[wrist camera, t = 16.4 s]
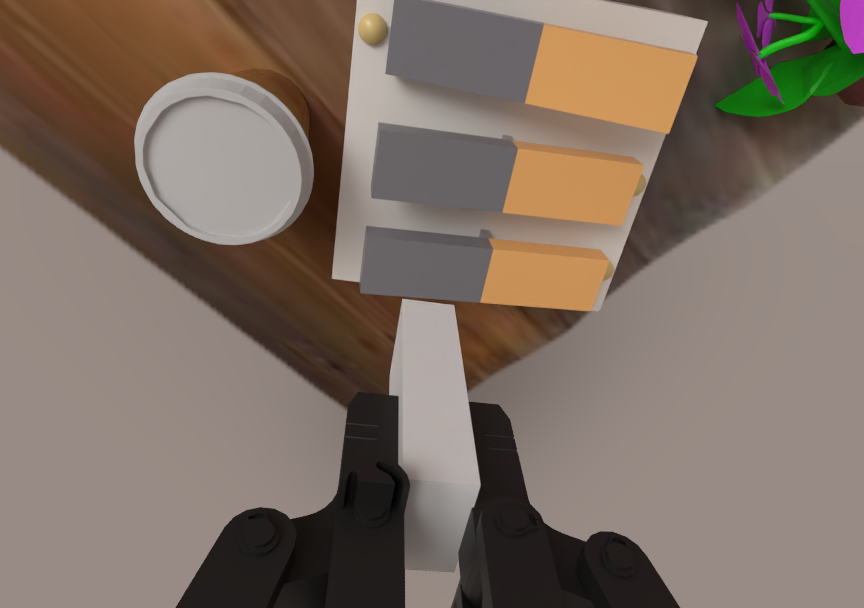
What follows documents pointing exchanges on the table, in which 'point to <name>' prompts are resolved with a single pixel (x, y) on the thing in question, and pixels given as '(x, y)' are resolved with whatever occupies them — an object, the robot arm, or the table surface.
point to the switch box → (489, 130)
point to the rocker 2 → (480, 269)
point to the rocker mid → (501, 175)
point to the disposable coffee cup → (227, 154)
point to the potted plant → (804, 59)
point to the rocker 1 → (538, 63)
